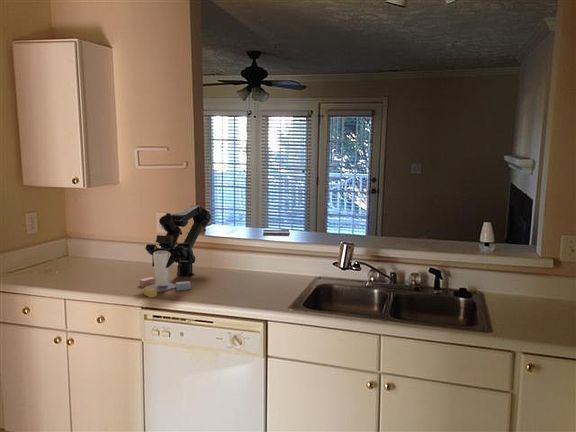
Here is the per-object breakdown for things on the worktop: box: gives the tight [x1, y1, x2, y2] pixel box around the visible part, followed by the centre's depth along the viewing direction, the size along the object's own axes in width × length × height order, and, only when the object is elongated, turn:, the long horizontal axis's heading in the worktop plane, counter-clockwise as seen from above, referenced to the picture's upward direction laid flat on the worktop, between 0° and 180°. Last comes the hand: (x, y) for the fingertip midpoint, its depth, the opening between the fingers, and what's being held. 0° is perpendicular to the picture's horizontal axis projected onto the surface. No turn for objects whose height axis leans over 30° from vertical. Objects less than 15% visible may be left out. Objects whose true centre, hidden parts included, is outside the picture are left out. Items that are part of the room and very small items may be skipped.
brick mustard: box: [142, 286, 158, 298], centre depth 205 cm, size 6×3×3 cm, turn 44°
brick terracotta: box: [139, 276, 156, 288], centre depth 219 cm, size 6×3×3 cm, turn 141°
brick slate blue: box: [175, 280, 192, 291], centre depth 214 cm, size 6×3×3 cm, turn 113°
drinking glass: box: [152, 251, 170, 286], centre depth 214 cm, size 7×7×15 cm
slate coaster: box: [144, 281, 177, 294], centre depth 215 cm, size 11×11×1 cm
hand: (159, 266), depth 213 cm, fingers closed on drinking glass, 6 cm apart
